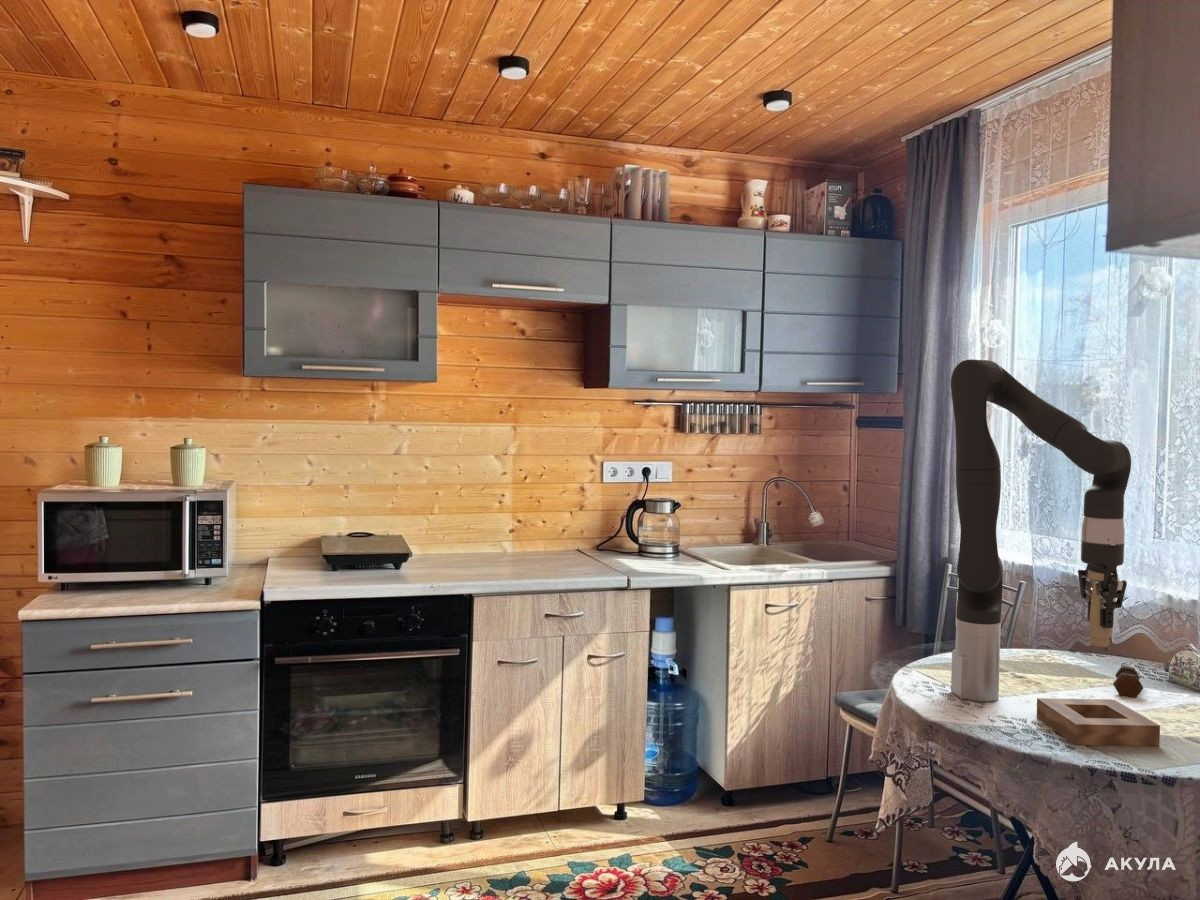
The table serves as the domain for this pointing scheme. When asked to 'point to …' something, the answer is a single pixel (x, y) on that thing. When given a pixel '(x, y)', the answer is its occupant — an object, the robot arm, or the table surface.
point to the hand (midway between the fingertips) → (1100, 624)
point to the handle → (1097, 614)
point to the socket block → (1098, 722)
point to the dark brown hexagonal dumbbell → (1127, 682)
